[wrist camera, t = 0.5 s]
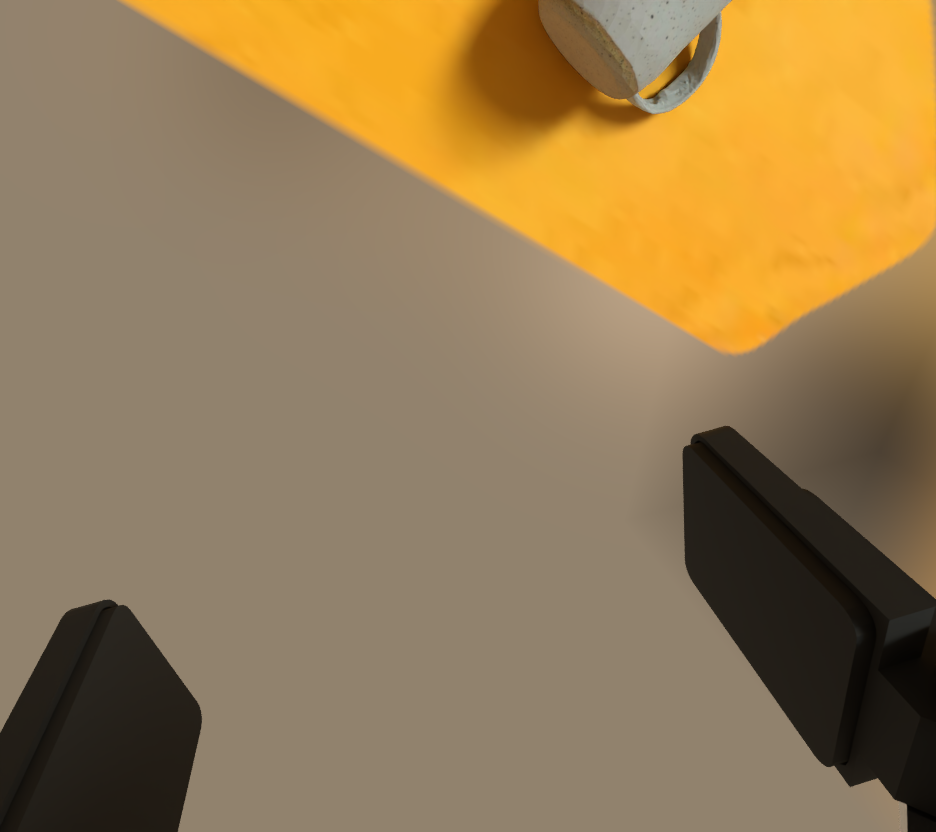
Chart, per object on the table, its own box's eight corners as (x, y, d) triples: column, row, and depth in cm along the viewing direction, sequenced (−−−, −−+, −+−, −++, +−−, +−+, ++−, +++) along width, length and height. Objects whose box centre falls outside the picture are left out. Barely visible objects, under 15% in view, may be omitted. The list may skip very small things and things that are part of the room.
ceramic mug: (510, 7, 32) (556, -13, 25) (620, -140, 30) (702, -203, 23) (631, 148, 36) (697, 163, 30) (734, 31, 34) (828, 19, 28)
